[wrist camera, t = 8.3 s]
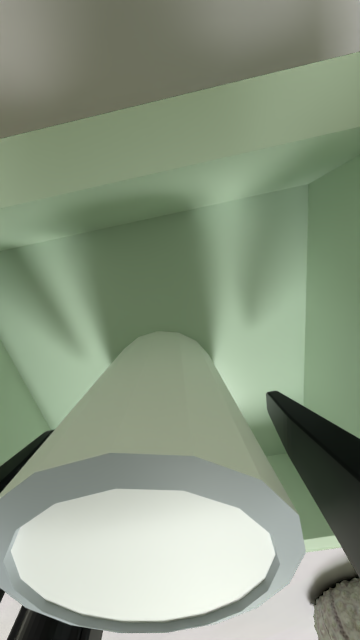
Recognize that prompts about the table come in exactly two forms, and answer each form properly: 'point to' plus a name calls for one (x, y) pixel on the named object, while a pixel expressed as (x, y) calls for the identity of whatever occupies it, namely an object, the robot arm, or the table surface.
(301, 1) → the table surface
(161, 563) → the shot glass
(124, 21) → the table surface
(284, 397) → the robot arm
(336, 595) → the sea urchin shell
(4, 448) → the bin
